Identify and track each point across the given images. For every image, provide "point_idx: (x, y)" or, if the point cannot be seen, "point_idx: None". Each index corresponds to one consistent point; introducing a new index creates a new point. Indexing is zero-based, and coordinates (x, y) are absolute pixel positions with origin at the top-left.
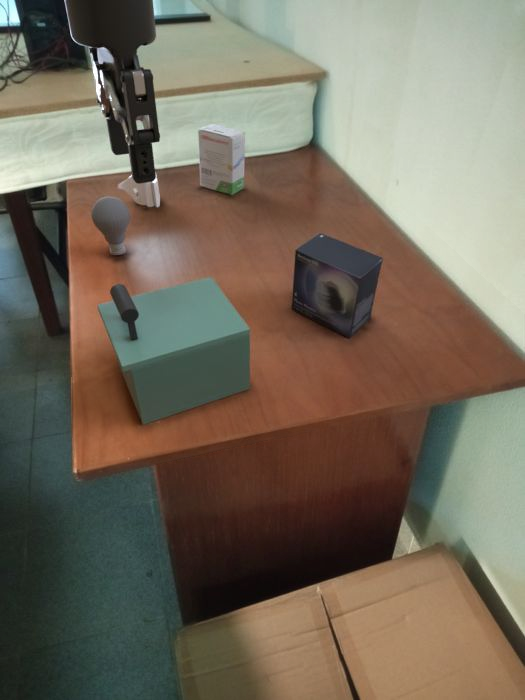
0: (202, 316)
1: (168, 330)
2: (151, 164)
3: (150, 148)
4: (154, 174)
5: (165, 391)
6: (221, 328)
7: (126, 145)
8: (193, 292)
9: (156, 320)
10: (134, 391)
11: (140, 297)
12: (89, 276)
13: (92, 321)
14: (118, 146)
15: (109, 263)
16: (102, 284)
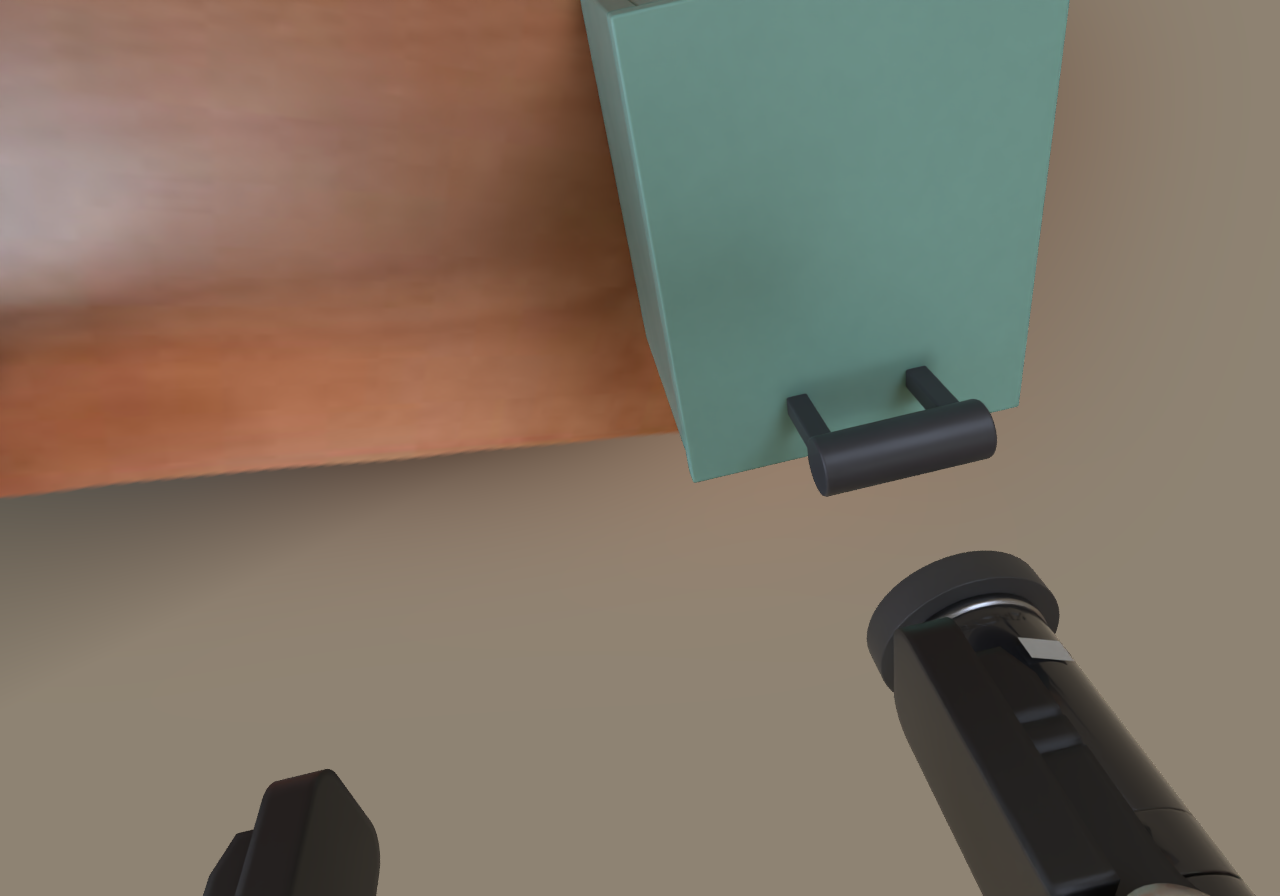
0: (904, 123)
1: (927, 266)
2: (1074, 735)
3: (1088, 844)
4: (968, 644)
5: None
6: (1012, 53)
7: (329, 844)
8: (723, 136)
9: (853, 303)
10: None
11: (694, 353)
12: (139, 437)
13: (428, 412)
14: (355, 878)
15: (23, 375)
16: (195, 394)
